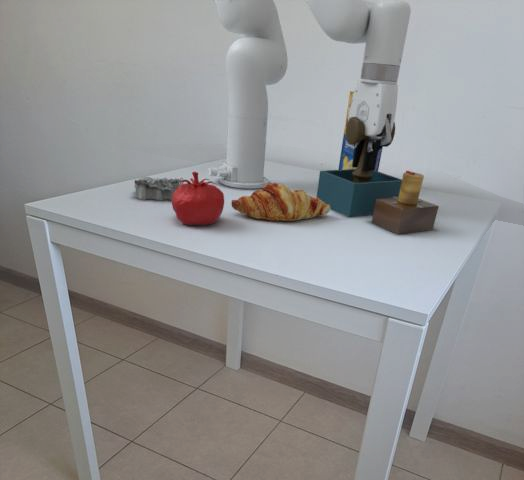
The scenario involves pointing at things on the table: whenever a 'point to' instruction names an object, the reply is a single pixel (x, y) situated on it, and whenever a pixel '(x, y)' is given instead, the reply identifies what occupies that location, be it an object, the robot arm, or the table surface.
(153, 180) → the grey flat jagged block
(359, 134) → the kendama
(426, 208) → the block
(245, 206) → the croissant
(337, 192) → the teal open box
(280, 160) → the table surface
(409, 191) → the tap knob
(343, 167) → the beverage box
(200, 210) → the red tomato
